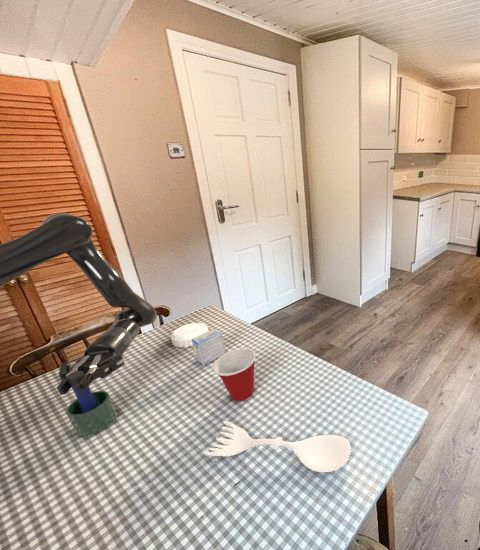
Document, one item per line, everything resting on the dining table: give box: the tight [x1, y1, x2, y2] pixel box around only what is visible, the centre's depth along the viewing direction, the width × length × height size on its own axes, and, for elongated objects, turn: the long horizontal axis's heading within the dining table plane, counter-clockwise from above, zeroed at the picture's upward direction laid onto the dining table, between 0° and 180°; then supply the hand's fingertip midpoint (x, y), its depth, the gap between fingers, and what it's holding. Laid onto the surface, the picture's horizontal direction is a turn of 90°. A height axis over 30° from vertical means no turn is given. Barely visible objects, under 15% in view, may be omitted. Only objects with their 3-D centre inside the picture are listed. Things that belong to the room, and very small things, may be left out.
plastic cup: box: [212, 347, 257, 402], centre depth 83 cm, size 11×11×12 cm
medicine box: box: [192, 328, 227, 366], centre depth 99 cm, size 8×4×9 cm, turn 144°
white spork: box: [201, 420, 352, 473], centre depth 68 cm, size 9×32×4 cm, turn 83°
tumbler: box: [65, 390, 118, 437], centre depth 75 cm, size 8×8×7 cm
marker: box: [67, 371, 98, 413], centre depth 73 cm, size 3×3×15 cm
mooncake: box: [169, 322, 210, 349], centre depth 110 cm, size 12×12×4 cm
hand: (70, 389), depth 68 cm, fingers closed on marker, 3 cm apart
